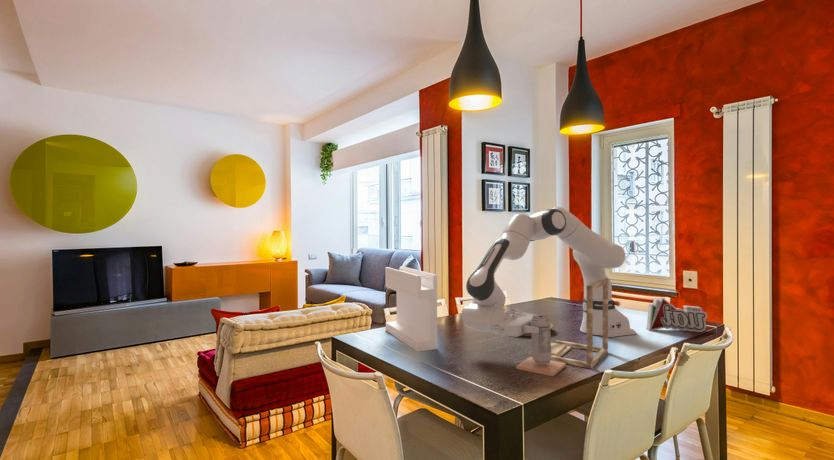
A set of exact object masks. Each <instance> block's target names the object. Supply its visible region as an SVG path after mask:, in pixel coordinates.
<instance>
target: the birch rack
mask: <svg viewBox="0 0 834 460" xmlns="http://www.w3.org/2000/svg"><path fill="white" fill-rule="evenodd" d="M602 285H603V336H602V346H595V345H593V342H594V340H593V337H594V336H593V290H594V289H596V288H598V287H600V286H602ZM555 343H557V344H564V345H566V346H570V347H571V349H572V348H574V349H579V350H585V351H586V359H585V360H586V361H583V360H579V359H572V358H567V357H564V356H561V357H558V356H552V360H551V361H557V362H562V363H566V365H571V366H576V367H580V368H587V369H593V368H594V366H596V365H597V364H598V363H599V362H600V361H601V360H602V359H603V358H604V357H605V356H606V355H607V354H608V352H609V337H608V279H607V278H603V279H601V280H599V281H596V282H594V283H591V284H589V285H587V333H586V344H584V343H579V342H578V343H577V342H571V341H566V340H558V339H557V340H555ZM594 352H597V353H595V354H594V355H593V353H594Z"/></svg>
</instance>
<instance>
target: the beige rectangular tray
mask: <svg viewBox="0 0 834 460" xmlns="http://www.w3.org/2000/svg"><path fill="white" fill-rule="evenodd" d="M571 349H572V347H570V346H566V345H564V344H557V343H556V342H551V355H552V356H558V357H563V355H565V354H566V353H567V352H568V351H570V350H571Z"/></svg>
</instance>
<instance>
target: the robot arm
mask: <svg viewBox="0 0 834 460" xmlns="http://www.w3.org/2000/svg"><path fill="white" fill-rule="evenodd" d="M553 236H557V238H559V239H560V240H561V241H562V242H563V243H565V245H567V246H568V247H569V248H570V249H571V250H572V256H573V259H574V261H575V262H576V263H577V264H578V267H579V269H580V272H581V275H582V279H583V298H582V310H583V311H582V312H583V313H582V321H581V324H580V329H579V331H580V332H582V333H584V334H587V285H589V284H591V283H594V282H596V281H599V280H601V279H603V278H607V279H608V338H612V337H613V338H614V337H622V336H629V335H630V336H631V335H637V334H636V333H637V332H636V330H635V329H633V328H631V324H630V320H629V318H628V317H627V316H626V315H625V314H623V313H622V312H621V311H619V310H618V309H617V308H616V306H617V307H620V306H621V301H618V300H613V299H612V296H613V295H612V292H613V289H612V287H613V286H612V285H613V283H612V281H611V279H610V278H609V277H608V276H607V274H606V272H605V269H607V270H609V269H616V268H620V267H621V266H622V265H623V264H624V262H625V261H626V251H625V250H624V249H625V248H623V247H622V246H621V245H619V244H616V243H615V242H611V241H610V240H608V239H607V238H605V237H603V236H602V235H600V234H598V233H596V232H595V231H593V230H592V229H590V228H589V227H588V226H587V225H585V223H583V222H582V221H581V220H580V219H579V218H578V217H576V216H575V215H574V214H572V212H570V211H568V210H567V209H565V208H564V207H562V206H554V207H551V208H547V209H546V210H541V211H537V212H534V213H532V214H530V215H527V214H525V213H516V214H514V215H513V216H512V217H511V218H510V219H509V221H508V222H507V224H506V226H505V227H504V229H503V231H502V233H501V235H500V237H499V238H498V239H496V240H495V241H494V242H493V243H492V244H491V246H490V247H489V248H488V251H487V252H486V254H485V255H484V257H483V258H482V260H481V262H480V263H479V265H478V266H477V267H476V269H475V270H474V271H473V272H472V273H471V274H470V275H469V277H468V279H467V281H466V285H465V286H466V287H465V288H466V291H467V294H469V295H470V297H472V298H473V300H472V301H471V302H470V303H468V304H467V305H464V306H463V307H462V309H461V313H460V314H461V320H462V321H461V322H462V323H463V325H464V326H465V327H466V328H469V329H471V330H474V331H478V332H482V333H483V332H484V333H485V332H489V333H492V334H496V335H500V336H509V337H514V338H517V337H521V336H520V335H522V334H524V333H539V332H540V327H536V326H534V327H533V326H531V320H532V318H533V315H537V314H535V313H531V312H525V311H519V309H518V308H517V309H516V308H513V309H510V308H509V309H508V308H504V306H505V304H506V296H505V293H504V291H503V290H502V289H501V287H500V286H499V284H498V283H497V282H496V280H495V275H496V274H495V273H496V272H497V270H498V268H499V266H500V265H501V263H502V262H503V259H504V260H509V261H510V260H511V261H516V260H519V259H521V258H523V257H524V255H525V254H526V252H527V250H528V247H529V245H530V243H531V242H534V241H540V240H545V239H547V238H550V237H553ZM593 335H595V336H601V337H603V285H602V286H600V287H598V288H596V289H594V290H593Z"/></svg>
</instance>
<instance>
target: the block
mask: <svg viewBox="0 0 834 460" xmlns="http://www.w3.org/2000/svg"><path fill="white" fill-rule="evenodd" d="M384 268H385V271H384V275H385V279H384V281H385V286H384V287H385V288H386V289H390V290H392V291H394V292H396V293H395V294H396V318H395V320H394V321H386V322H385V331H386V332H387V333H389V334H390V335H392V336H393V337H395V338H396V339H398V340H400V341H401V342H403V343H404V344H405V345H408V346H409V347H410V348H411V349H413V350H415V351H416V352H424V351H431V350H432V351H433V350H437V349H438V274H434V273H431V272H427V271H423V270H419V269H415V268H410V267H408V266H403V265H402V266H401V265H400V267H399V268H398V269H397V268H396V269H395V268H393V267H390V266H385V267H384ZM386 327H387V328H386Z"/></svg>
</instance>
